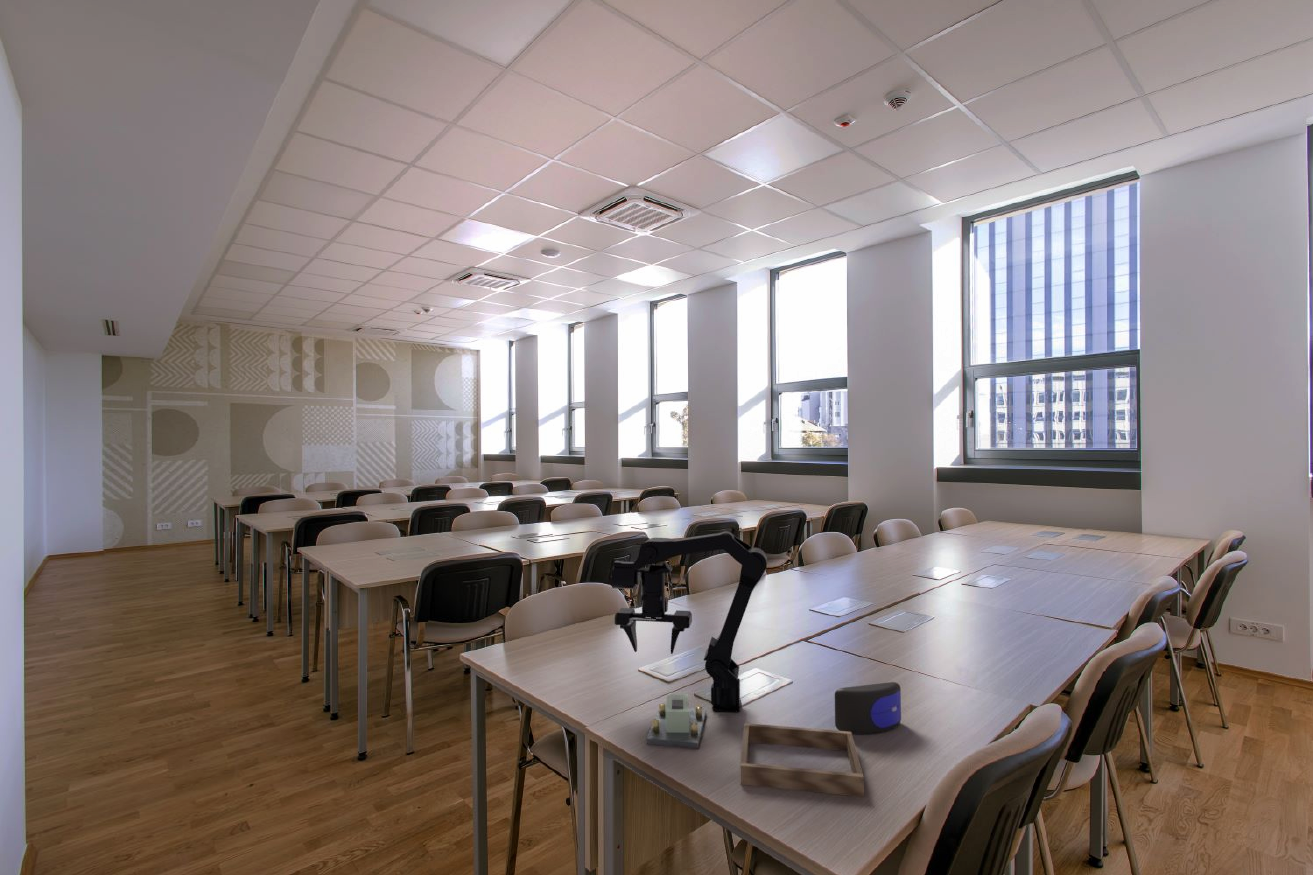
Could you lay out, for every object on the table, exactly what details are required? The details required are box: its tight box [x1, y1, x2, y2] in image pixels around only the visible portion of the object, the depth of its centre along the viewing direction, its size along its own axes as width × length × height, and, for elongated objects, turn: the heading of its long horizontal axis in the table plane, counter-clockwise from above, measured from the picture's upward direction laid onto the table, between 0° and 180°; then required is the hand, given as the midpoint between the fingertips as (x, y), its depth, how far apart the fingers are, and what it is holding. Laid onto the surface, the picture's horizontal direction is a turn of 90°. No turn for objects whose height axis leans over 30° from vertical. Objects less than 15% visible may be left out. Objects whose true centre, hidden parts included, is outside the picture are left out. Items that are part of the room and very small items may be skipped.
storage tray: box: [740, 722, 865, 797], centre depth 116 cm, size 22×17×4 cm
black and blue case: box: [834, 681, 902, 735], centre depth 131 cm, size 16×5×9 cm, turn 103°
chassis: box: [645, 703, 707, 749], centre depth 132 cm, size 11×16×3 cm
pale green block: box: [665, 693, 690, 733], centre depth 132 cm, size 5×9×5 cm, turn 177°
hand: (653, 652), depth 147 cm, fingers open, 9 cm apart
